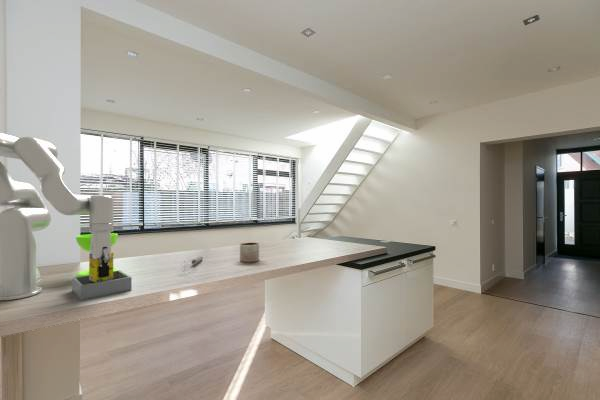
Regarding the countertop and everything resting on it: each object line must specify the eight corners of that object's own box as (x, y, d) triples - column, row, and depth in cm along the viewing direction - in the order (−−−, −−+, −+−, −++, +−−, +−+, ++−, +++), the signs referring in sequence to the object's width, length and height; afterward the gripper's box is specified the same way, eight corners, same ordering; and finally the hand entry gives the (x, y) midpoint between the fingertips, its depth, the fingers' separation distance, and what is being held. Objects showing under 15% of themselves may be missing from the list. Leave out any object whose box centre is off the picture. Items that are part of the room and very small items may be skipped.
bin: (80, 300, 98) (80, 286, 98) (72, 290, 109) (72, 277, 109) (131, 290, 109) (131, 277, 109) (119, 282, 120) (119, 270, 120)
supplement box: (96, 285, 105) (96, 255, 105) (88, 282, 108) (88, 253, 108) (113, 281, 110) (113, 252, 110) (106, 278, 113) (106, 250, 113)
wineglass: (109, 268, 145) (109, 232, 145) (124, 272, 136) (124, 234, 136) (70, 274, 132) (70, 235, 132) (83, 280, 123) (83, 238, 123)
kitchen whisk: (206, 259, 166) (206, 248, 166) (192, 275, 133) (191, 261, 133) (195, 259, 166) (195, 248, 166) (178, 275, 132) (178, 262, 132)
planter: (263, 259, 164) (263, 243, 164) (250, 263, 155) (250, 245, 155) (248, 257, 170) (248, 241, 170) (235, 261, 161) (235, 244, 161)
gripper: (84, 227, 112) (84, 272, 112) (95, 230, 100) (94, 281, 100) (107, 225, 118) (106, 269, 118) (119, 228, 106) (119, 277, 106)
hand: (101, 274), depth 109 cm, fingers closed on supplement box, 6 cm apart
